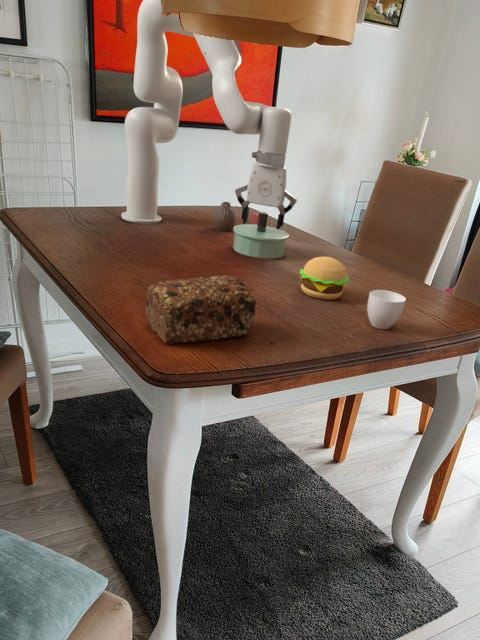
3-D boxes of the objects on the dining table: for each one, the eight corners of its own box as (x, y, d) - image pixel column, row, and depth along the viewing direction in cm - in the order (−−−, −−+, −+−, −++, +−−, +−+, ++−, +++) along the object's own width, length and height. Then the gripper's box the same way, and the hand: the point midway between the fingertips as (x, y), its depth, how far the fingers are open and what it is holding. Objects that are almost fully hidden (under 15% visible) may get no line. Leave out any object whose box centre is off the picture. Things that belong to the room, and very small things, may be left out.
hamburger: (355, 300, 140) (363, 264, 136) (317, 304, 134) (324, 267, 130) (324, 284, 149) (331, 250, 144) (286, 287, 143) (292, 251, 138)
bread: (229, 317, 120) (234, 270, 115) (254, 338, 112) (261, 288, 107) (143, 324, 111) (145, 273, 106) (163, 347, 103) (167, 292, 98)
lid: (239, 225, 173) (242, 203, 169) (291, 234, 171) (295, 212, 168) (227, 236, 159) (229, 212, 156) (283, 246, 157) (287, 222, 154)
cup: (374, 332, 123) (382, 302, 119) (351, 315, 130) (357, 286, 127) (404, 332, 125) (413, 302, 122) (380, 315, 133) (387, 286, 130)
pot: (239, 243, 175) (241, 224, 172) (286, 251, 173) (289, 232, 170) (227, 254, 162) (230, 234, 159) (278, 263, 160) (282, 243, 158)
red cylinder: (251, 234, 186) (254, 212, 182) (265, 237, 185) (268, 214, 182) (249, 237, 182) (252, 214, 178) (262, 240, 182) (266, 216, 178)
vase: (211, 232, 182) (214, 203, 177) (213, 227, 188) (216, 198, 183) (233, 235, 182) (236, 206, 178) (234, 230, 188) (237, 201, 184)
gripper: (236, 155, 153) (228, 222, 161) (300, 166, 151) (289, 233, 159) (242, 153, 159) (234, 218, 168) (304, 163, 157) (293, 228, 166)
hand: (261, 225), depth 164 cm, fingers open, 9 cm apart
